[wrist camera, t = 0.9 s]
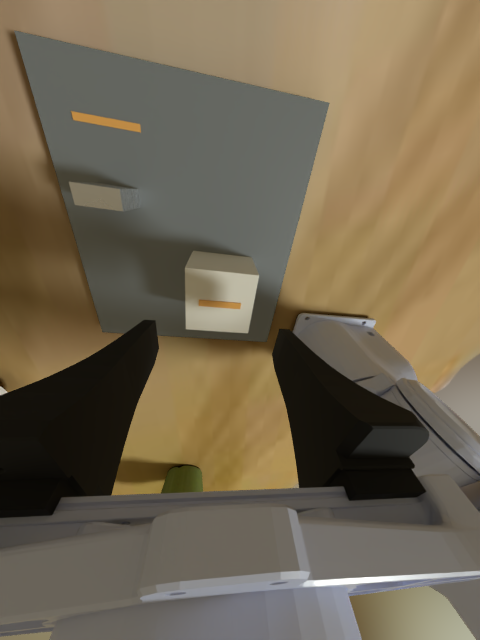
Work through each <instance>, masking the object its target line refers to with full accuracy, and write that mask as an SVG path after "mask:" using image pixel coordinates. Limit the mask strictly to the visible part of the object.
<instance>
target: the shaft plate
mask: <svg viewBox="0 0 480 640" xmlns="http://www.w3.org/2000/svg"><path fill="white" fill-rule="evenodd" d="M15 35H16V38H17V42H18V45H19V48H20V52H21V55H22V59H23V62H24V65H25V69H26V72H27V76H28V79H29V83H30V86H31V89H32V93H33V96H34V100H35V103H36V107H37V110H38V113H39V117H40V120H41V124H42V127H43V130H44V134H45V137H46V141H47V144H48V148H49V151H50V154H51V158H52V161H53V165H54V168H55V172H56V175H57V178H58V182H59V185H60V189H61V192H62V195H63V199H64V202H65V206H66V209H67V213H68V216H69V219H70V223H71V226H72V230H73V233H74V237H75V240H76V243H77V247H78V250H79V254H80V257H81V260H82V264H83V267H84V271H85V274H86V278H87V281H88V284H89V288H90V291H91V295H92V298H93V302H94V305H95V308H96V312H97V315H98V319H99V322H100V325H101V329H102V332H110V333H126V332H128V331H129V330H131V329H132V328H133V327H135V326H136V325H137V324H139V323H140V322H141V321H143V320H156V328H157V335H159V336H176V337H192V338H209V339H226V340H242V341H259V342H267V339H268V335H269V331H270V327H271V324H272V320H273V316H274V312H275V308H276V305H277V301H278V297H279V293H280V289H281V285H282V282H283V278H284V274H285V270H286V266H287V263H288V259H289V255H290V251H291V247H292V244H293V240H294V236H295V232H296V228H297V224H298V221H299V217H300V213H301V209H302V205H303V202H304V198H305V194H306V190H307V186H308V183H309V179H310V175H311V171H312V167H313V164H314V160H315V156H316V152H317V148H318V144H319V141H320V137H321V133H322V129H323V125H324V122H325V118H326V114H327V110H328V106H329V103H328V102H323V101H319V100H315V99H310V98H306V97H301V96H297V95H293V94H288V93H284V92H280V91H275V90H271V89H267V88H262V87H258V86H254V85H249V84H245V83H241V82H236V81H232V80H227V79H223V78H219V77H214V76H210V75H206V74H201V73H197V72H193V71H188V70H184V69H180V68H175V67H171V66H167V65H162V64H158V63H154V62H149V61H145V60H140V59H136V58H132V57H127V56H123V55H119V54H114V53H110V52H106V51H101V50H97V49H93V48H88V47H84V46H80V45H75V44H71V43H66V42H62V41H58V40H53V39H49V38H45V37H40V36H36V35H32V34H27V33H23V32H19V31H15ZM193 251H201V252H209V253H218V254H227V255H235V256H244V257H252V259H253V262H254V264H255V267H256V269H257V271H258V274H259V279H258V284H257V289H256V295H255V300H254V305H253V310H252V315H251V320H250V326H249V331H248V333H235V332H220V331H204V330H189V329H186V310H185V266H186V264H187V262H188V260H189V258H190V256H191V254H192V252H193Z"/></svg>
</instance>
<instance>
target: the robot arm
mask: <svg viewBox="0 0 480 640" xmlns="http://www.w3.org/2000/svg"><path fill="white" fill-rule="evenodd" d="M306 317H308V318H307V319H305V318H306ZM362 322H363V323H362ZM375 323H376V321H375V320H374V319H371V318H359V317H347V316H335V315H322V314H310V313H301V314H299V315H298V317H297V320H296V323H295V326H294V329H293V332H292V331H290V330H288V329H279V333H278V336H277V340H276V343H275V346H274V350H273V353H272V356H273V363H274V368H275V372H276V375H277V378H278V382H279V385H280V388H281V391H282V395H283V398H284V401H285V405H286V408H287V413H288V418H289V423H290V428H291V434H292V440H293V446H294V452H295V459H296V465H297V473H298V481H299V488H289V489H264V490H238V491H213V492H187V493H162V494H136V495H111V494H112V490H113V486H114V482H115V478H116V474H117V470H118V466H119V463H120V459H121V456H122V452H123V448H124V445H125V441H126V438H127V435H128V431H129V428H130V424H131V421H132V418H133V415H134V412H135V409H136V406H137V403H138V401H139V398H140V396H141V394H142V391H143V389H144V387H145V384H146V382H147V380H148V378H149V375H150V373H151V371H152V368H153V366H154V363H155V360H156V357H157V353H158V349H159V346H158V337H157V328H156V320H143V321H141V322H140V323H139V324H137V325H136V326H135V327H133V328H132V329H131V330H129V331H128V332H126V333H125V334H124V335H122V336H121V337H120V338H118V339H117V340H115V341H114V342H112V343H111V344H109V345H107V346H106V347H104V348H103V349H101V350H100V351H98V352H96V353H95V354H93V355H91V356H90V357H88V358H86V359H84V360H82V361H80V362H78V363H76V364H75V365H72V366H70V367H68V368H66V369H64V370H62V371H60V372H58V373H55V374H53V375H51V376H49V377H47V378H44V379H42V380H39V381H37V382H35V383H32V384H29V385H27V386H24V387H22V388H19V389H16V390H14V391H11V392H8V393H5V394H2V395H0V637H1V636H11V635H21V634H30V633H39V632H50V631H52V634H51V636H50V639H49V640H362V639H361V635H360V632H359V629H358V625H357V622H356V619H355V616H354V612H353V609H352V606H351V603H350V599H349V596H354V595H361V594H369V593H376V592H384V591H391V590H398V589H407V588H414V587H422V586H430V587H431V588H433V589H434V590H436V591H438V592H439V593H441V594H442V595H444V596H445V597H446V598H447V599H448V600H449V601H450V603H451V604H452V606H453V607H454V609H455V610H456V611H457V613H458V614H459V616H460V617H461V619H462V620H463V621H464V623H465V624H466V625H467V627H468V628H469V630H470V631H471V633H472V634H473V636H474V637H475V638H476V640H480V436H479V435H478V434H477V433H476V432H475V431H474V430H473V429H472V428H471V427H470V426H468V424H466V423H465V422H464V421H463V420H462V419H461V418H460V417H459V416H458V415H457V414H456V413H455V412H454V411H453V410H451V408H450V407H448V406H447V405H446V404H445V403H444V402H443V401H442V400H441V399H440V398H438V397H437V396H436V395H435V394H434V393H433V392H431V391H430V390H429V389H428V388H427V387H425V386H424V385H423V384H421V383H420V382H418V381H417V377H416V374H415V371H414V369H413V368H412V366H411V364H410V363H409V362H408V361H407V360H406V359H405V358H404V357H403V356H402V355H401V354H400V353H399V352H398V351H397V350H396V349H395V348H394V347H392V346H391V345H390V344H389V343H388V342H387V341H386V340H385V339H384V338H383V337H382V336H381V335H380V334H379V333H377V332H376V331H375V330H374V329H373V327H374V325H375Z"/></svg>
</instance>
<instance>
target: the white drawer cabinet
mask: <svg viewBox="0 0 480 640" xmlns="http://www.w3.org/2000/svg"><path fill="white" fill-rule="evenodd" d="M258 279H259V274H258V271H257V269H256V267H255V264H254V262H253V259H252V257H244V256H235V255H227V254H218V253H209V252H201V251H193V252H192V254H191V256H190V258H189V260H188V262H187V264H186V266H185V310H186V329H189V330H204V331H220V332H235V333H248V331H249V326H250V320H251V315H252V310H253V305H254V300H255V295H256V289H257V284H258Z"/></svg>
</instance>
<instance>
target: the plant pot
mask: <svg viewBox="0 0 480 640" xmlns="http://www.w3.org/2000/svg"><path fill="white" fill-rule="evenodd" d="M187 492H203V484H202V472H201V471H200V469H199V468H197V467H193V466H189V465H186V466H182V467H180V468H178V467H174V468H172V469H170V470H169V471H168V473H167V476H166V479H165V482H164V485H163V489H162V492H161V494H162V493H187Z"/></svg>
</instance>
